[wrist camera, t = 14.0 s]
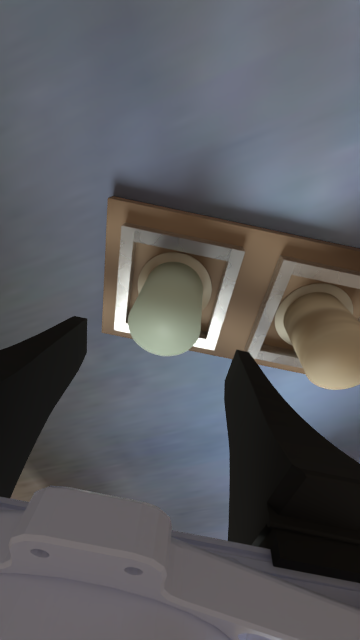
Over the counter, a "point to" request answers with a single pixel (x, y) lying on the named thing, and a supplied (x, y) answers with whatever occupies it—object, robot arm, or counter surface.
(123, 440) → the counter surface
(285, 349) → the board
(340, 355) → the ash peg
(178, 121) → the counter surface
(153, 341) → the sage peg
